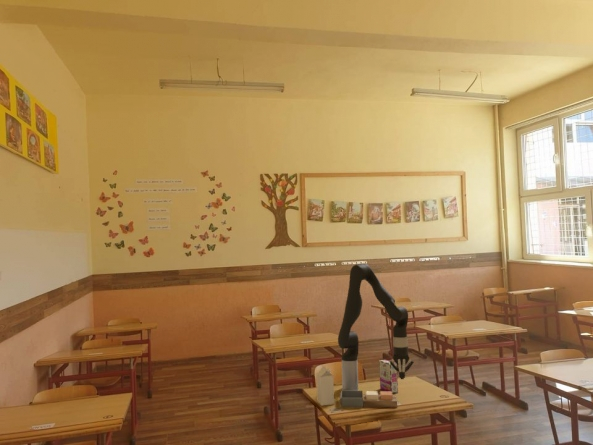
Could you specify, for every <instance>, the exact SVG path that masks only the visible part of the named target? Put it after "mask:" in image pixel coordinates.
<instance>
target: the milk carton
mask: <svg viewBox="0 0 593 445" xmlns="http://www.w3.org/2000/svg"><path fill="white" fill-rule="evenodd" d="M334 384H335V383H334V375H333V374H332V373H331V369H329V368H327V367H326V366H324V365H322V366H321V368H320V370H318V371H317V372H316V398H317V400H316V402H317V403H318V404H319V405H320V406H321V407H322V406H330V405H331V406H332V405H335V391H334Z"/></svg>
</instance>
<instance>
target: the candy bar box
mask: <svg viewBox="0 0 593 445" xmlns="http://www.w3.org/2000/svg"><path fill="white" fill-rule="evenodd" d="M389 361H390V360H387V359H381V360H380V359H379V363H378V364H379V366H378V367H379V389H380V390H382V391H392V394H397V393H399V385H398V378H399V377H398V371H396V370H395V369H394V368H393V366H392V365H391V364H390V362H389ZM394 365H395V366H396V367H397V368H398V365H397V364H396V362H395V361H394Z"/></svg>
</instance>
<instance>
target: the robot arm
mask: <svg viewBox="0 0 593 445" xmlns="http://www.w3.org/2000/svg"><path fill="white" fill-rule="evenodd" d="M362 281H366V282H368V284H369V285H370V286H371V288H372V290H373V293H374V295H375V296H374V297H375V298H376V299H377V300H378V302H379V303H380V304H381V305H382V306H383V308H384V309H385V311H386V313H387V315H388V316H389V318H390V319H392V320H393V321H394V322H395V325H393V326H392V334H393V335H392V336H393V339H392V345H393V346H392V347H393V349H392V350H393V356H392V359H390V360H388V361H389V362H390V364H391V365H392V366H393V368H394V369H395V370H396V371H397V372H398V378H399V379H400V380H404V379H405V378H406V374H405V373H406V372H408V371H409V370H410V368H411V367H412V366H413V364H414V360H412V359H411V358H410V356H409V341H408V337H407V336H408V333H407V326H408V321H409V311H408V310H407V308H406V306H405V307H404V306H397V305H396V299H395V298H394V297H393V296H392V294H391V293H389V291H388V290H387V289H386V288H385V287H384V285H383V284H382V283H381V281H380V279H378V277H377V275H376V273H375V272H374V270H373V269H372V268H371V266H370V265H369V264H367V263H357V264H354V265H353V266H352V267H351V268H350V271H349V282H348V284H349V285H348V292H347V297H346V301H345V307H344V313H343V317H342V322H341V326H340V330H339V332H338V335H337V336H338V337H337V343H338V346H339V347H340V349H343V350H345V349H346V351H345V352H343V353H342V354H341V378H342V380H341V381H342V382H341V384H342V390H359V368H358V366H359V365H358V356H359V337H358V334H357V332H356V331H354V330H353V331H351V330H352V328H353V326H354V324H355V322H357V320H358V319H359V317H360V315H361V313H362V307H363V298H362V295H361V284H362ZM394 362H395V363H396V364H397V367H396V366H395V365H394Z"/></svg>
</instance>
